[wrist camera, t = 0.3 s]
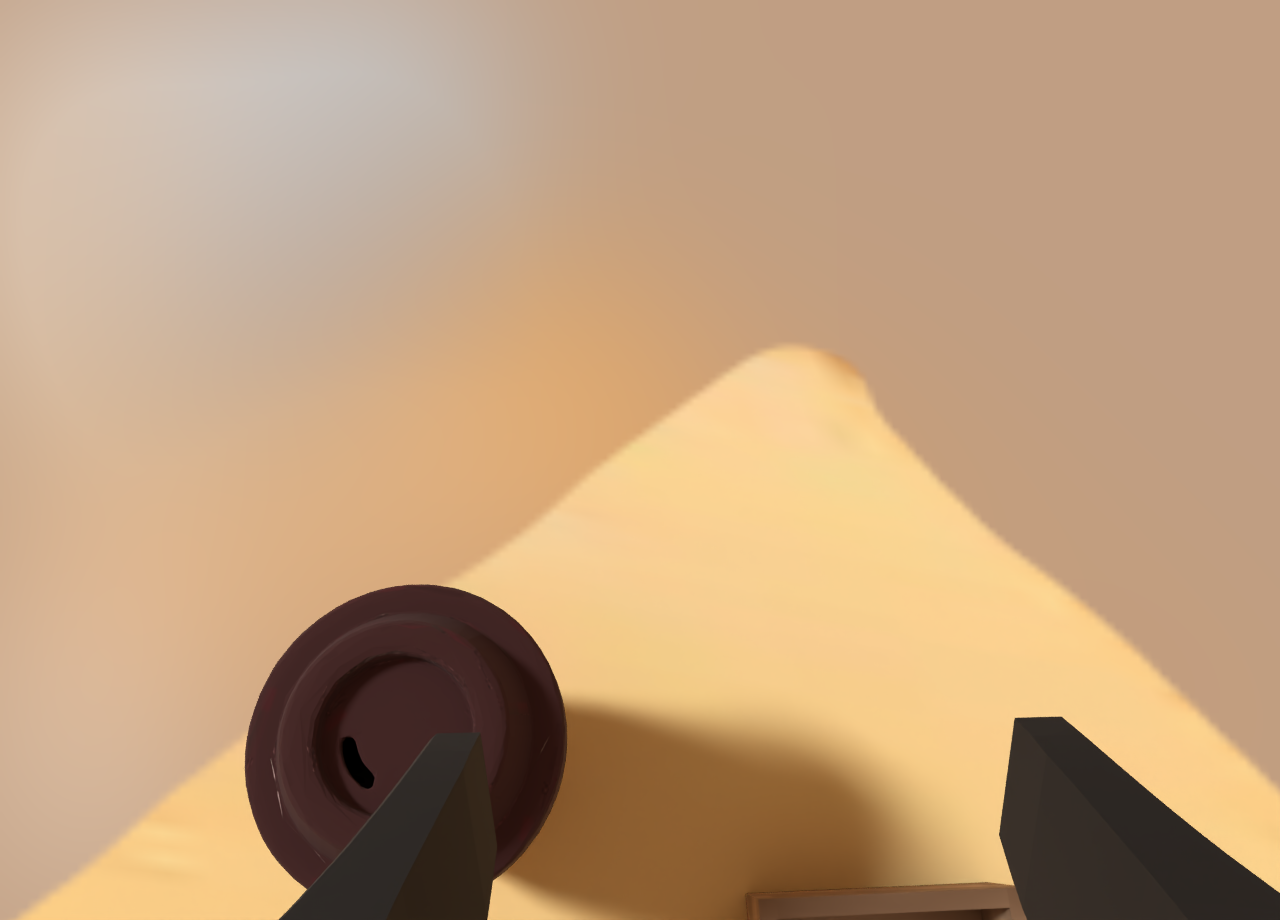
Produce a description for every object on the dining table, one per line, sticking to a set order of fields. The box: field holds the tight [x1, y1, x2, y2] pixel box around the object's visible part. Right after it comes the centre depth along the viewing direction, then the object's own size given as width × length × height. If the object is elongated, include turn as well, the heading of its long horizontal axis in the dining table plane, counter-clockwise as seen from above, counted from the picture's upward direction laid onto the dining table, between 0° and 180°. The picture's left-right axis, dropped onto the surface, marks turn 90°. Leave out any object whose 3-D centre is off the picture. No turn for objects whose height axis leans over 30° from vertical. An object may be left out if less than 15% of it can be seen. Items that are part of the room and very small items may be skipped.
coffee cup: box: [245, 585, 567, 889], centre depth 34 cm, size 10×10×15 cm
